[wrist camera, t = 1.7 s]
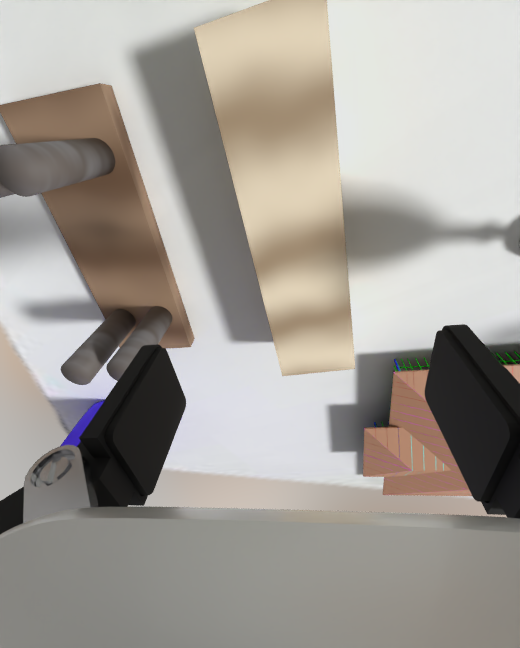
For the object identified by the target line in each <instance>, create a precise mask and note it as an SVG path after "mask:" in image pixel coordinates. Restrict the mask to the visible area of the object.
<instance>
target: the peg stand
mask: <svg viewBox="0 0 520 648" xmlns="http://www.w3.org/2000/svg"><path fill="white" fill-rule="evenodd" d="M0 113H1V115H2V117H3V119H4V121H5V123H6V124H7V126H8V128H9V130H10V132H11V134H12V136H13V138H14V140H15V142H16V144H10V145H1V146H0V198H1V197H5V196H9V195H13V194H17V195H20V196H25V197H27V196H32V195H36V194H39V193H42V195H43V197H44V199H45V201H46V203H47V205H48V207H49V209H50V211H51V213H52V215H53V217H54V219H55V221H56V223H57V225H58V227H59V229H60V231H61V233H62V235H63V237H64V239H65V241H66V243H67V245H68V247H69V249H70V251H71V253H72V254H73V256H74V258H75V260H76V262H77V264H78V266H79V268H80V270H81V272H82V274H83V276H84V278H85V280H86V282H87V284H88V286H89V288H90V290H91V292H92V294H93V296H94V298H95V300H96V302H97V304H98V306H99V308H100V310H101V312H102V314H103V316H104V318H105V319H106V320H105V321H104V322H103V323H102V324H101V325H100V326H99V327H98V328H97V329H96V331H95V332H94V333H93V334H92V335H91V336H90V337H89V338H88V339H87V340H86V341H85V342H84V343H83V344H82V345H81V346H80V347H79V348H78V349H77V350H76V351H75V352H74V354H73V355H72V356H71V357H70V358H69V359H68V360H67V361H66V362H65V363H64V364H63V365H62V366H61V372H62V374H63V375H64V377H65V378H67V379H68V380H69V381H71V382H73V383H75V384H79V385H86V384H88V383H90V382H91V380H92V379H93V378H94V376H95V375H96V374H97V373H98V371H99V370H100V369H101V368H102V366H103V365H104V364H105V363H106V361H107V360H108V359H109V357H110V356H111V355H112V354H113V352H114V351H115V350H116V349H117V347H118V346H119V347H120V349H119V350H118V351H117V353H116V354H115V355H114V356H113V358H112V359H111V360H110V362H109V363H108V364H107V371H108V373H109V375H110V376H111V377H112V378H114V379H115V380H117V381H118V380H119V379H120V378H121V376H122V375H123V373H124V372H125V370H126V369H127V367H128V366H129V364H130V363H131V362H132V360H133V359H134V357H135V356H136V354H137V353H138V351H139V350H140V348H141V347H142V346H144V345H156V344H158V345H160V346H161V347H162V348H182V347H191V345H192V343H193V341H194V335H193V332H192V329H191V326H190V323H189V320H188V317H187V314H186V311H185V308H184V305H183V302H182V299H181V296H180V293H179V290H178V287H177V284H176V281H175V278H174V275H173V272H172V269H171V265H170V262H169V259H168V256H167V253H166V250H165V247H164V244H163V241H162V238H161V235H160V232H159V229H158V226H157V223H156V220H155V217H154V214H153V211H152V208H151V205H150V202H149V199H148V195H147V192H146V189H145V186H144V183H143V180H142V177H141V174H140V171H139V168H138V165H137V162H136V159H135V156H134V153H133V150H132V147H131V144H130V141H129V138H128V135H127V132H126V129H125V125H124V122H123V119H122V116H121V113H120V110H119V107H118V104H117V101H116V98H115V95H114V92H113V89H112V86H111V85H106V84H100V83H99V84H95V85H90V86H86V87H81V88H76V89H72V90H67V91H63V92H58V93H54V94H49V95H44V96H40V97H35V98H31V99H26V100H21V101H17V102H12V103H8V104H3V105H0Z"/></svg>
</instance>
